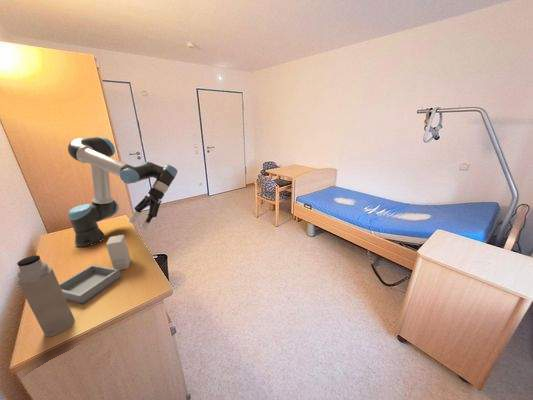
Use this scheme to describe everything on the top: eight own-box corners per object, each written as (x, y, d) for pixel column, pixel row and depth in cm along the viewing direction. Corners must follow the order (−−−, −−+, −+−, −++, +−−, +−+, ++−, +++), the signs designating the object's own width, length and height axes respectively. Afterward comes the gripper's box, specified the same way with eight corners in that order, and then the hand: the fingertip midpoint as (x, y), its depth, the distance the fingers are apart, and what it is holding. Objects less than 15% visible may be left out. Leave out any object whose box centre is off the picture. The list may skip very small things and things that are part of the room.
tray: (95, 272, 105) (92, 264, 104) (121, 277, 101) (119, 269, 99) (54, 297, 90) (51, 288, 89) (83, 304, 85) (79, 296, 84)
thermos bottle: (37, 336, 72) (0, 267, 63) (60, 317, 80) (29, 252, 71) (60, 336, 72) (26, 266, 63) (80, 316, 79) (52, 251, 71)
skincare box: (117, 263, 112) (109, 236, 107) (132, 259, 114) (124, 233, 109) (114, 272, 105) (104, 244, 100) (129, 268, 107) (121, 240, 102)
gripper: (176, 196, 114) (154, 233, 107) (153, 191, 128) (133, 223, 122) (164, 189, 108) (141, 227, 101) (141, 184, 122) (120, 217, 116)
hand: (136, 225), depth 112 cm, fingers open, 13 cm apart
